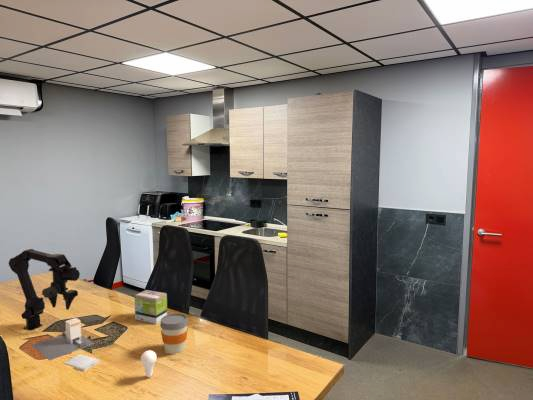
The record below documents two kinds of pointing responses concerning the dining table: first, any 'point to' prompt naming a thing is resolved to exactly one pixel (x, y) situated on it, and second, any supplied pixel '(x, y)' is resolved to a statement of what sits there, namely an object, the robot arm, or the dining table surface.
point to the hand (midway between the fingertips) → (60, 308)
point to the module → (73, 330)
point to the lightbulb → (148, 362)
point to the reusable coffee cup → (174, 332)
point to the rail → (76, 341)
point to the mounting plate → (59, 346)
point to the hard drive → (82, 362)
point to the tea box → (150, 306)
